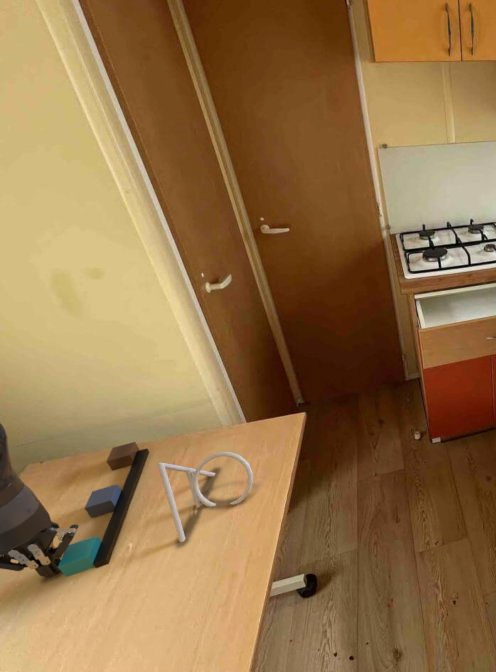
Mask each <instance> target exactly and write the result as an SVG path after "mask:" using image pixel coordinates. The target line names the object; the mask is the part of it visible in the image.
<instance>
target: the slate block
mask: <svg viewBox="0 0 496 672" xmlns="http://www.w3.org/2000/svg"><path fill="white" fill-rule="evenodd" d="M121 491H122V488H121V487H120V485H119V483H116V484H112V485H109V486H106V487H103V488H98V489H97V490H92V491H91V493H90V495H89V498H88V500H87V502H86V504H85V506H84V510H85V511H86V513H87V514H88V515H89V517H90V518H91V519H94V518H98V517H101V516H103V515H106V514H107V515H108V514H110V513H113V511H114V509H115V506H116V504H117V501H118V499H119V496H120V494H121Z"/></svg>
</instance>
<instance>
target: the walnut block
mask: <svg viewBox="0 0 496 672" xmlns="http://www.w3.org/2000/svg"><path fill="white" fill-rule="evenodd" d="M139 450H141V449H140V447H139V446H138V444H137V442H136V441H133V442H129V443H125V444H121V445H118V446H113V447H112V448H111V450H110V452H109V454H108V457H107V459H106V463H107V465H108V466H109V468H110V470H111V471H112V472H113V471H116V470H121V469H123V468H127V467H131V466H132V463H133V461H134V458H135V456H136V453H137V451H139Z"/></svg>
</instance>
